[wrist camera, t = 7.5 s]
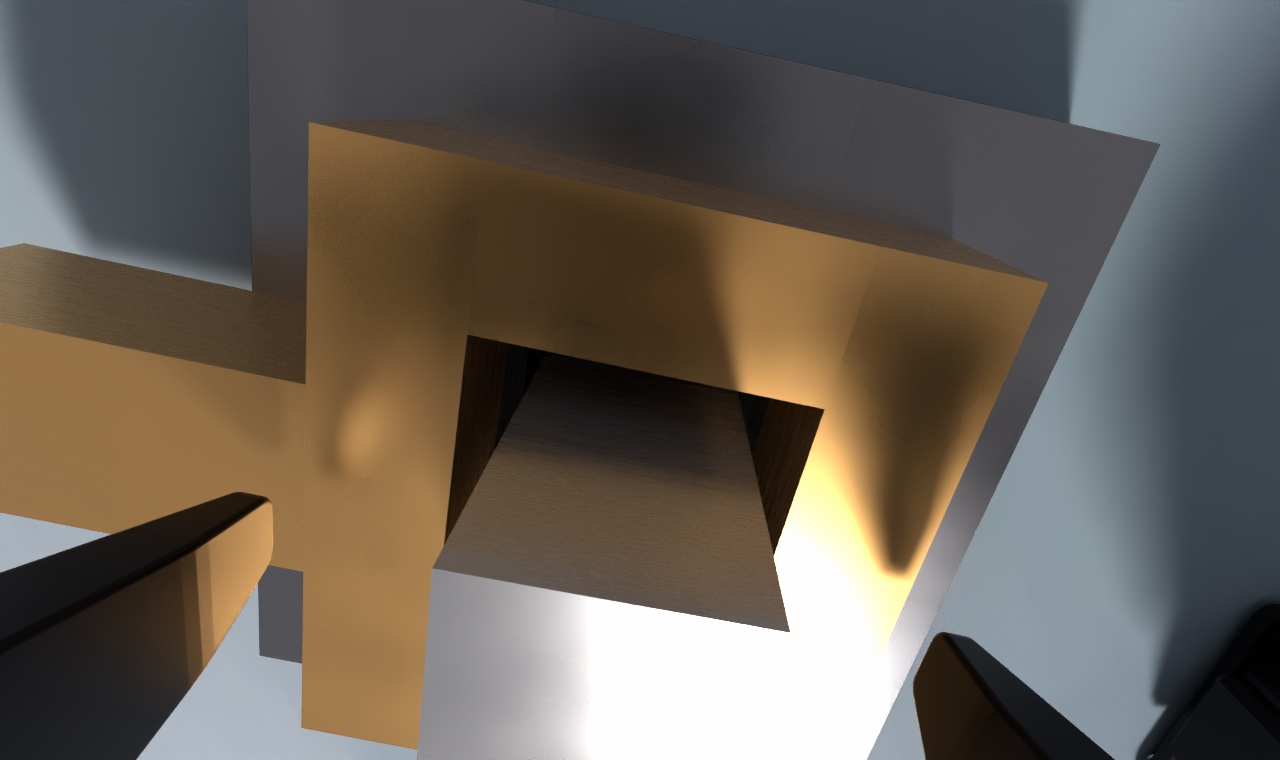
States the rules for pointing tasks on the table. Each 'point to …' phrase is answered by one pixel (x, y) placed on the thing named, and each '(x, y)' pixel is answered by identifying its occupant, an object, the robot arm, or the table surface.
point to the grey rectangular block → (606, 581)
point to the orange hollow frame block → (573, 324)
